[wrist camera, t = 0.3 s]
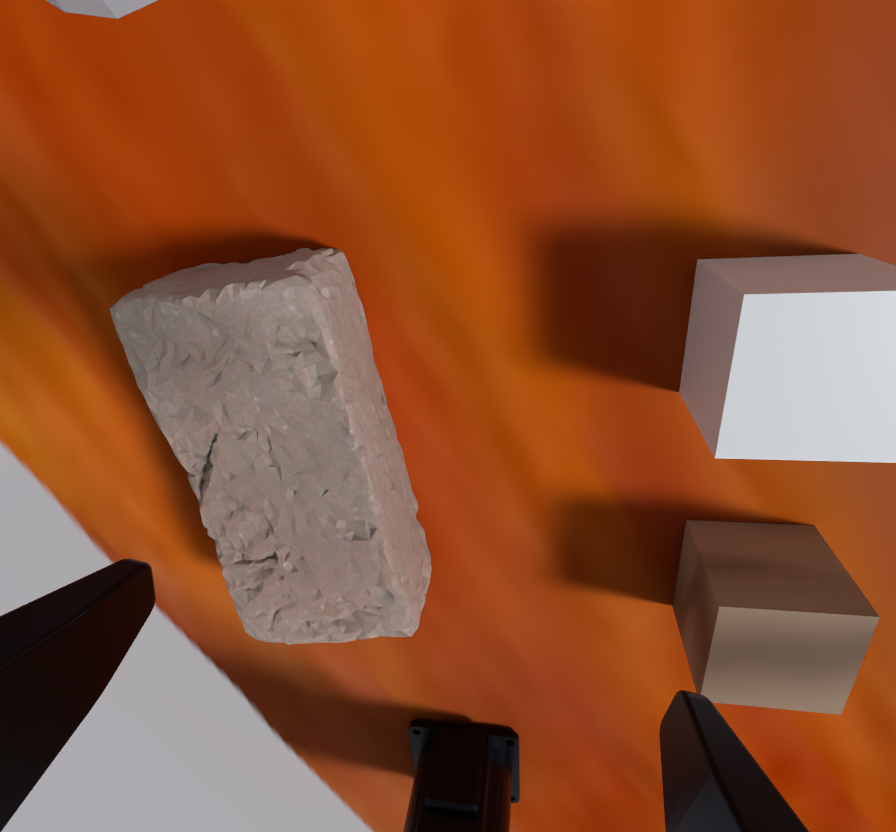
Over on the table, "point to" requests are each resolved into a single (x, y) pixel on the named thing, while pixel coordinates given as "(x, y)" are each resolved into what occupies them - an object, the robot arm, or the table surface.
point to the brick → (284, 442)
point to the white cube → (793, 358)
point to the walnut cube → (769, 616)
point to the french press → (100, 7)
